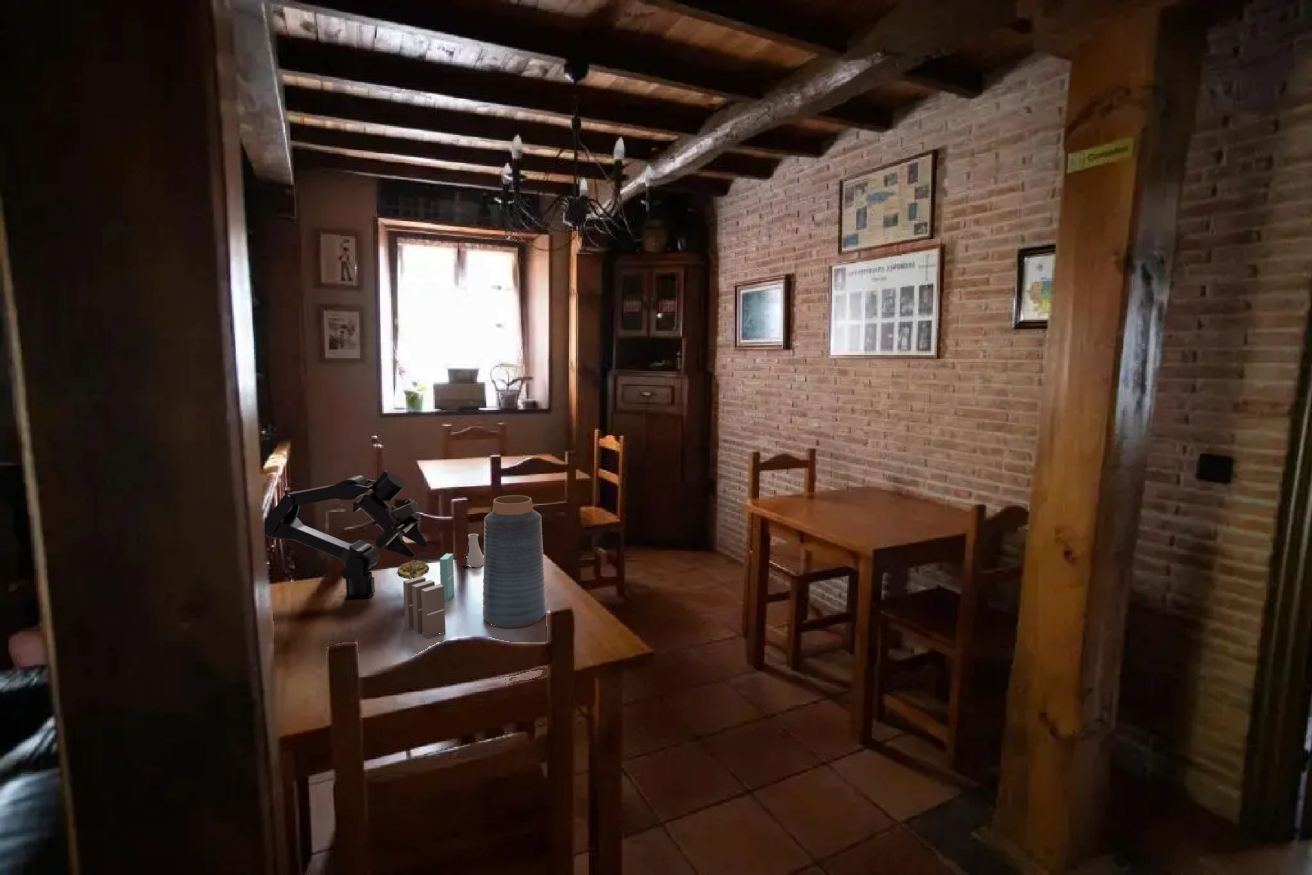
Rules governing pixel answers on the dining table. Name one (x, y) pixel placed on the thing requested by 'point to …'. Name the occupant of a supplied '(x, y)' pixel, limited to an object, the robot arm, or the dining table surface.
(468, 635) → the dining table surface
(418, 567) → the seal
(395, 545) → the robot arm
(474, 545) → the flask
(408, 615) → the domino
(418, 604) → the domino
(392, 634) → the dining table surface
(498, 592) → the vase
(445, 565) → the teal domino
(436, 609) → the domino
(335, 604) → the dining table surface
